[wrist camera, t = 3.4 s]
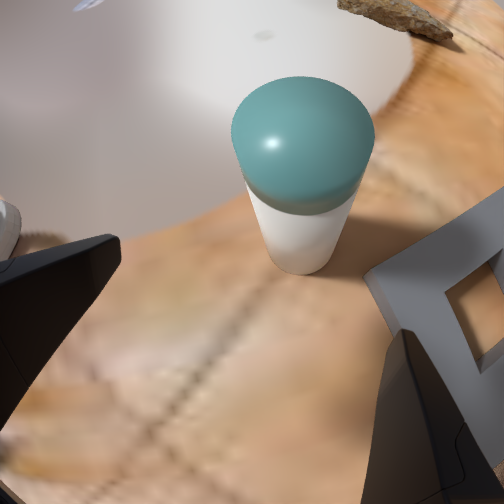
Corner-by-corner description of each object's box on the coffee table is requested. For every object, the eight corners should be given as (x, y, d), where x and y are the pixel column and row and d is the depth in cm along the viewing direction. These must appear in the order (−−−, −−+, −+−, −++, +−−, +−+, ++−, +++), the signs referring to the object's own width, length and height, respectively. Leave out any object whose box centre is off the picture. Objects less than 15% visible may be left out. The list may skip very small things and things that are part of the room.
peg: (346, 255, 21) (402, 153, 9) (285, 287, 21) (271, 216, 9) (313, 199, 22) (324, 62, 10) (255, 227, 22) (210, 107, 10)
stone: (446, 31, 27) (460, 8, 22) (438, 69, 27) (454, 45, 22) (344, -13, 28) (348, -40, 23) (326, 20, 29) (328, -10, 24)
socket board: (563, 375, 15) (581, 376, 13) (452, 477, 15) (467, 488, 13) (489, 198, 20) (504, 185, 18) (362, 276, 20) (370, 268, 18)
